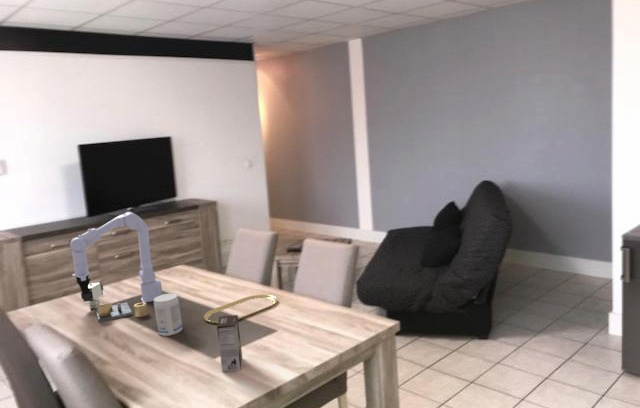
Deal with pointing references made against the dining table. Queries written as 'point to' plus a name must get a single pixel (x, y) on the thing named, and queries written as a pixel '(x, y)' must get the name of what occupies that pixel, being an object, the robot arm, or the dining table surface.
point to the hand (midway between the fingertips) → (84, 292)
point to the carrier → (112, 311)
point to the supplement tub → (168, 314)
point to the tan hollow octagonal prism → (140, 309)
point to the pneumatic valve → (93, 294)
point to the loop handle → (238, 303)
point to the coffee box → (229, 343)
